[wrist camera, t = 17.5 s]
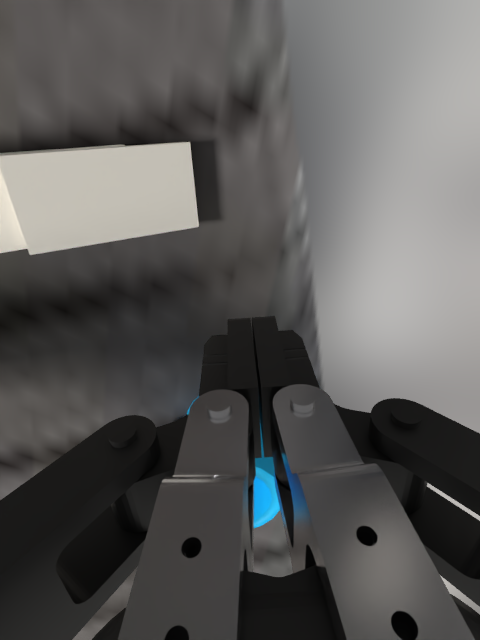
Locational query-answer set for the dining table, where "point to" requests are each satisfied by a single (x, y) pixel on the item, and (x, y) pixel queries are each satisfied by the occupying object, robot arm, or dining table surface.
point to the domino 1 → (3, 225)
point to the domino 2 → (100, 194)
